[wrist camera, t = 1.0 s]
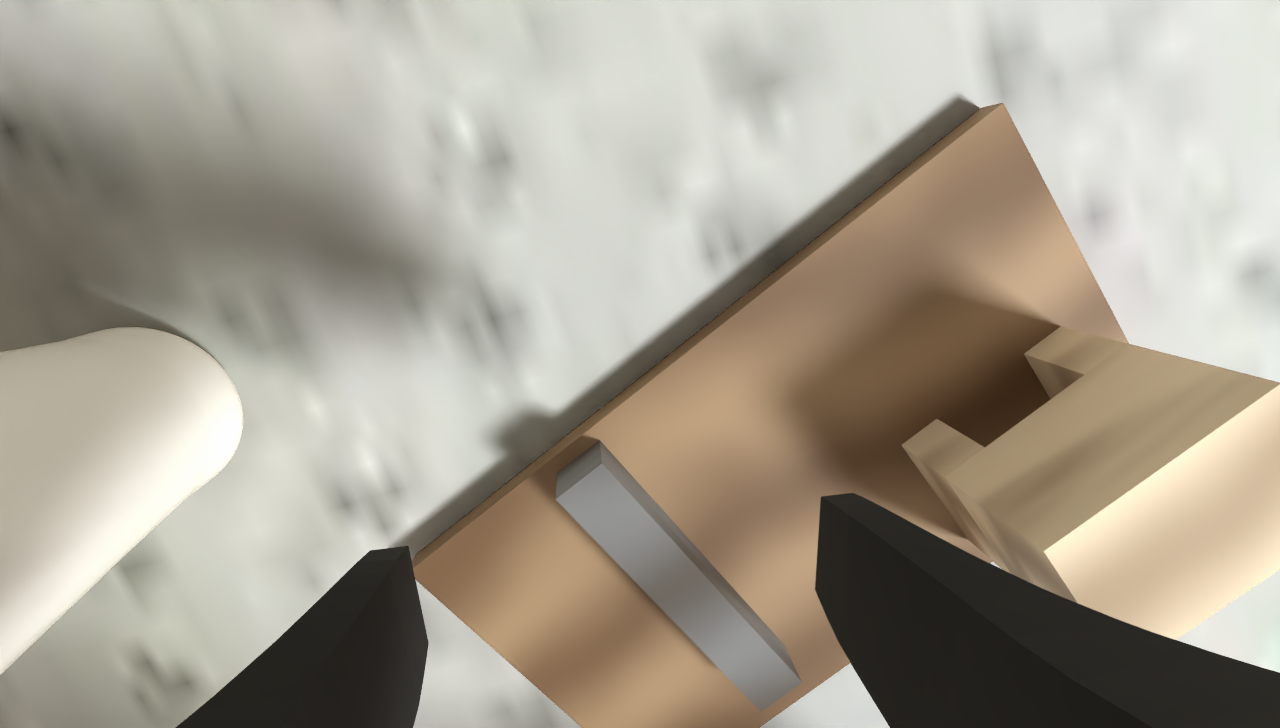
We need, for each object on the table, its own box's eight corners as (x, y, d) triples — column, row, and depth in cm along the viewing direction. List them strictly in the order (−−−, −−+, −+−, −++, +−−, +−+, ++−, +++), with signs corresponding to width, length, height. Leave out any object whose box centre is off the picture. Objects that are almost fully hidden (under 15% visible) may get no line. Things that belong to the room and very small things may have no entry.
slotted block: (1119, 431, 21) (1343, 525, 15) (968, 539, 22) (1124, 674, 16) (1061, 326, 20) (1281, 382, 14) (901, 445, 21) (1043, 551, 14)
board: (1149, 421, 23) (1227, 451, 20) (657, 774, 25) (667, 844, 22) (980, 108, 19) (1049, 91, 16) (415, 555, 21) (391, 608, 18)
